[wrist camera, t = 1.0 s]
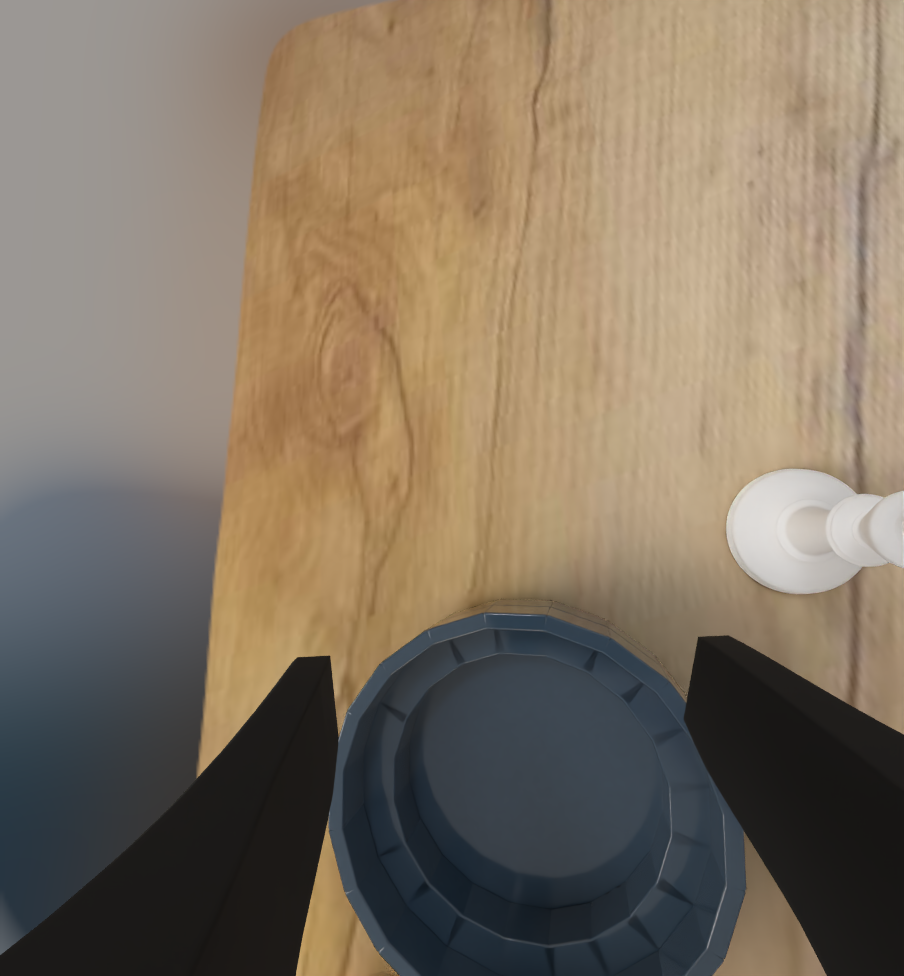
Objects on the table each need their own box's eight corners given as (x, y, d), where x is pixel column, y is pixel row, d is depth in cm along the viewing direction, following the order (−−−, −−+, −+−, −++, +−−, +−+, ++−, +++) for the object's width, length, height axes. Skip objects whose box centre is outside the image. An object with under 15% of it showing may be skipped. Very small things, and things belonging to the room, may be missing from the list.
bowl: (703, 602, 22) (734, 621, 17) (719, 977, 20) (756, 1102, 16) (376, 593, 25) (331, 606, 20) (373, 913, 24) (325, 1002, 19)
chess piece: (791, 443, 21) (966, 368, 12) (897, 533, 20) (1188, 534, 10) (698, 528, 22) (789, 525, 12) (796, 620, 21) (982, 697, 11)
